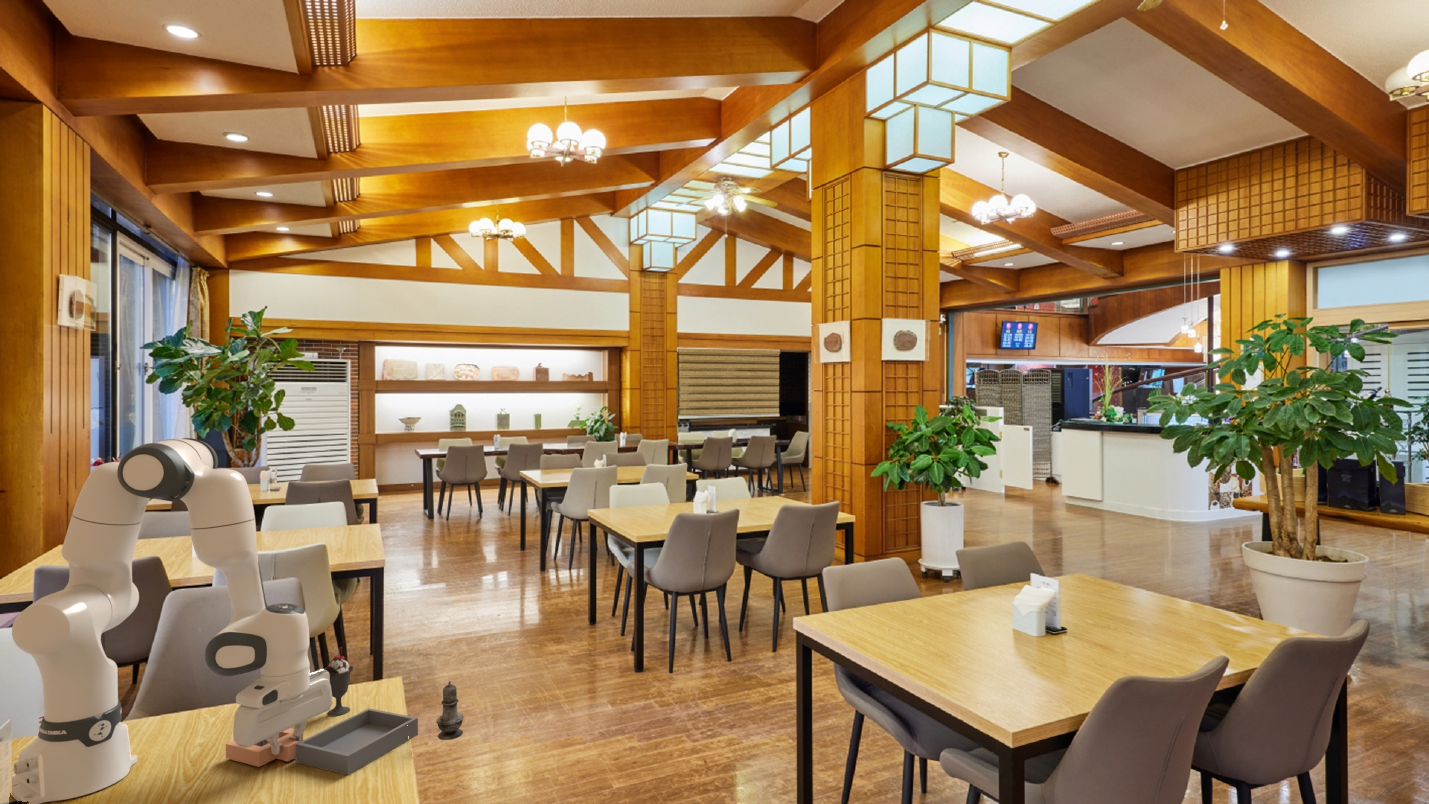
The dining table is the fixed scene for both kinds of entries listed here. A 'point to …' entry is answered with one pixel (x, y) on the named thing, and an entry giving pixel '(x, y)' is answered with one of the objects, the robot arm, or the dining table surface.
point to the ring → (263, 750)
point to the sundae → (339, 682)
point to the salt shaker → (450, 715)
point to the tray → (356, 741)
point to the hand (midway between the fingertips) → (286, 748)
